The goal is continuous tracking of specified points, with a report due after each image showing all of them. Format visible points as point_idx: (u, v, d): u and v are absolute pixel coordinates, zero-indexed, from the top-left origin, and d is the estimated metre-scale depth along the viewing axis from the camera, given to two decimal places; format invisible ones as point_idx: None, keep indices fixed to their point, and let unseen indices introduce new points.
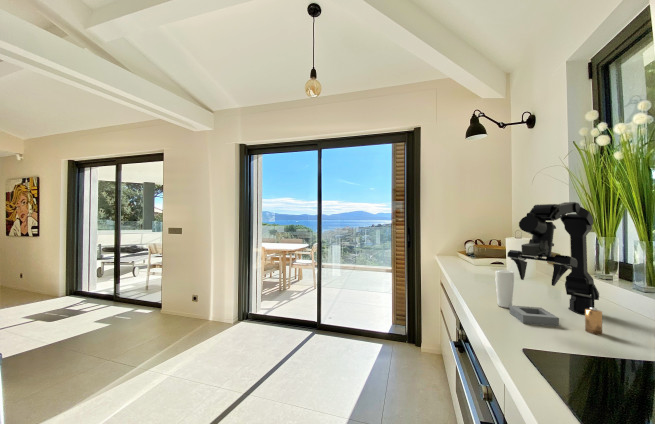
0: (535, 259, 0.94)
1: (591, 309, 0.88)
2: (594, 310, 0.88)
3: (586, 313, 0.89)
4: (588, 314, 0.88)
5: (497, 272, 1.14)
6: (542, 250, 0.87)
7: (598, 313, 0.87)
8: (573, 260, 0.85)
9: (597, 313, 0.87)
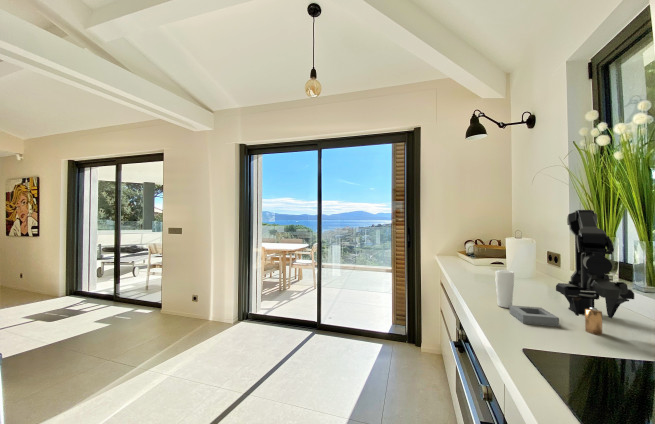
0: (590, 293, 0.88)
1: (591, 309, 0.88)
2: (594, 310, 0.88)
3: (586, 313, 0.89)
4: (588, 314, 0.88)
5: (497, 272, 1.14)
6: None
7: (598, 313, 0.87)
8: None
9: (597, 313, 0.87)
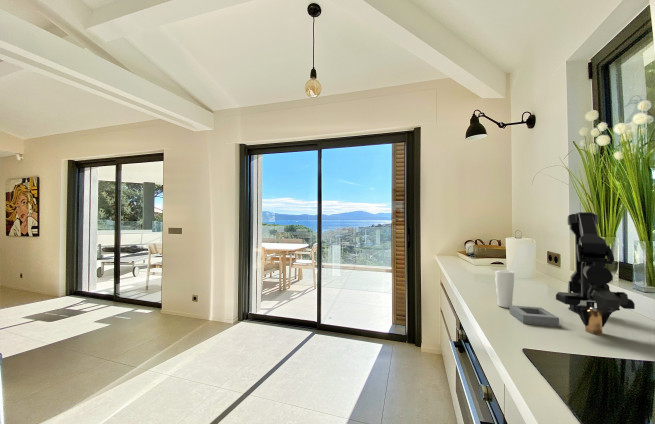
0: (590, 302, 0.88)
1: (591, 309, 0.88)
2: (594, 310, 0.88)
3: None
4: (588, 314, 0.88)
5: (497, 272, 1.14)
6: None
7: (598, 313, 0.87)
8: None
9: (597, 313, 0.87)
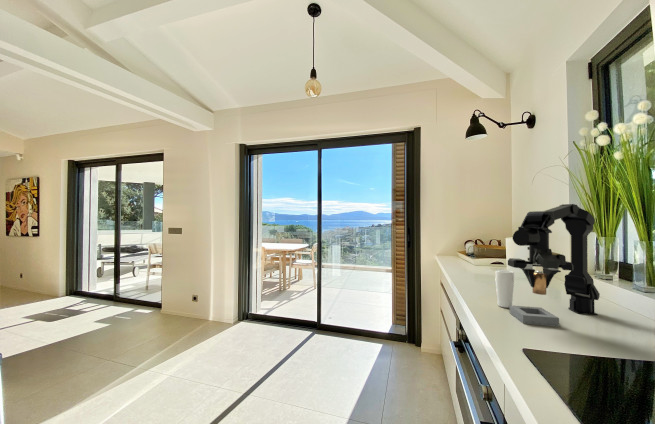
0: None
1: (537, 272, 0.98)
2: (539, 273, 0.97)
3: None
4: (534, 277, 0.98)
5: (497, 272, 1.14)
6: None
7: (542, 275, 0.96)
8: None
9: (542, 275, 0.96)
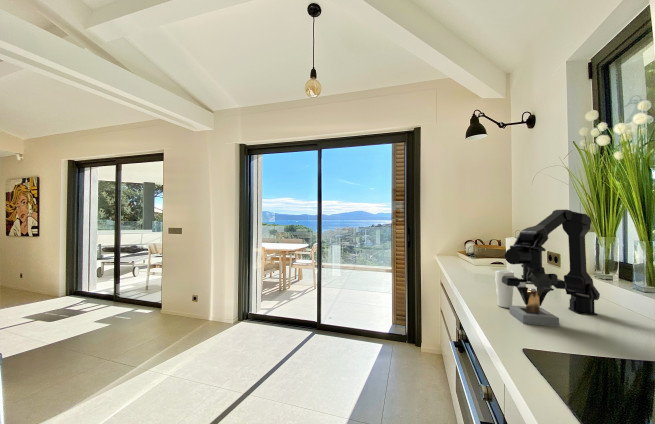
0: None
1: (530, 290, 0.99)
2: (533, 291, 0.99)
3: None
4: (528, 294, 0.99)
5: (497, 272, 1.14)
6: None
7: (536, 293, 0.97)
8: None
9: (535, 293, 0.98)
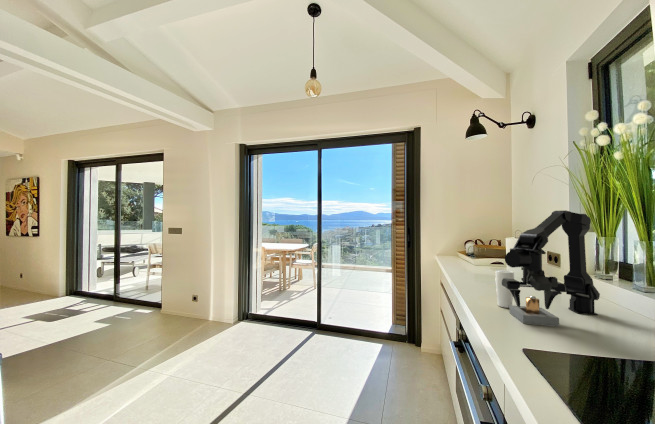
0: None
1: (530, 297, 0.99)
2: (532, 298, 0.99)
3: (526, 301, 1.00)
4: (527, 302, 0.99)
5: (497, 272, 1.14)
6: None
7: (535, 301, 0.97)
8: None
9: (534, 301, 0.97)
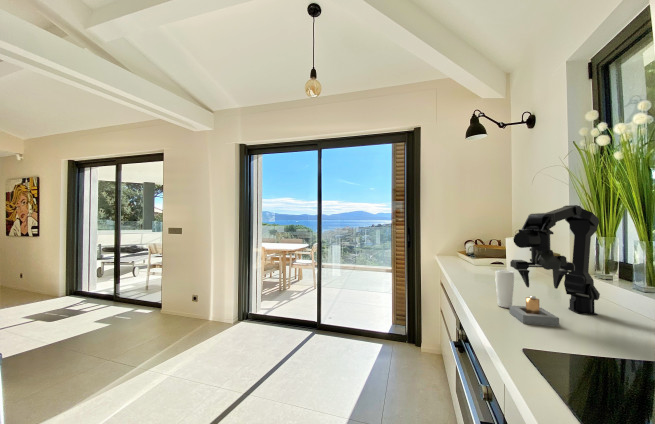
0: None
1: (530, 297, 0.99)
2: (533, 298, 0.99)
3: (526, 301, 1.00)
4: (527, 302, 0.99)
5: (497, 272, 1.14)
6: None
7: (535, 301, 0.97)
8: None
9: (535, 301, 0.97)
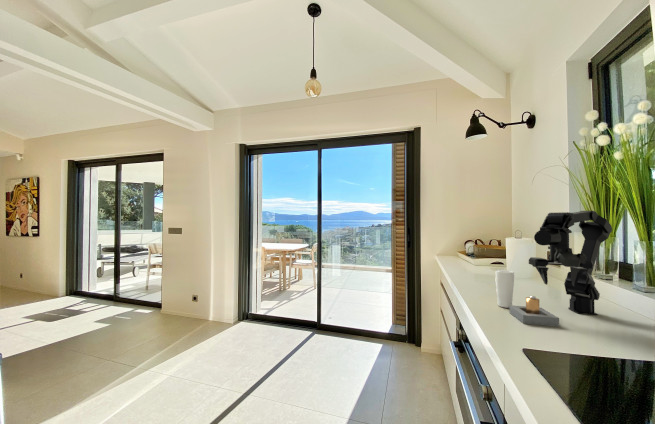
0: (557, 264, 1.03)
1: (530, 297, 0.99)
2: (533, 298, 0.99)
3: (526, 301, 1.00)
4: (528, 302, 0.99)
5: (497, 272, 1.14)
6: None
7: (535, 301, 0.97)
8: None
9: (535, 301, 0.97)
